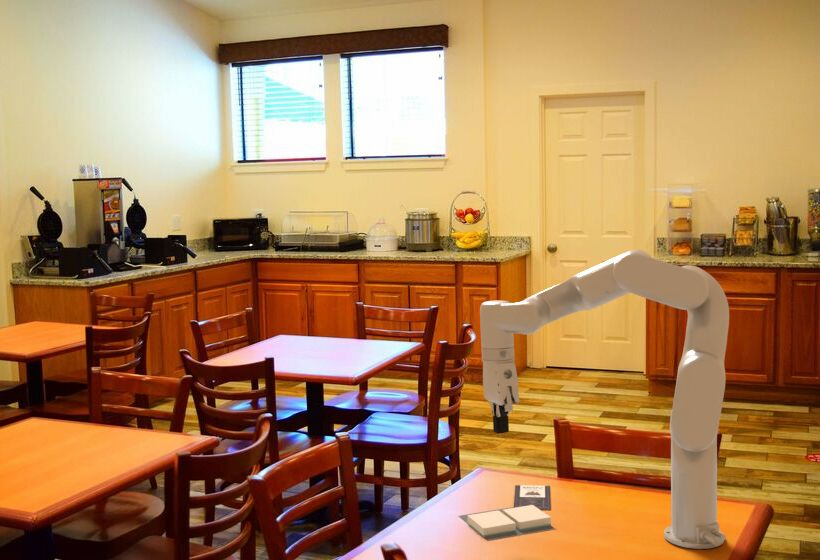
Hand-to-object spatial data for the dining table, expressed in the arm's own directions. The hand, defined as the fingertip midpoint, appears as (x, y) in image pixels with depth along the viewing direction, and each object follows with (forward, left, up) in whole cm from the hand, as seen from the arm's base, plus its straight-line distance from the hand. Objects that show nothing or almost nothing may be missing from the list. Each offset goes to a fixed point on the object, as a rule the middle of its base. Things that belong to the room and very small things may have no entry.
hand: (501, 432), depth 205 cm
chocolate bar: (+12, -14, -22) cm, 29 cm away
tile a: (+2, -5, -20) cm, 21 cm away
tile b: (+2, +4, -20) cm, 21 cm away
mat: (-1, 0, -22) cm, 22 cm away
